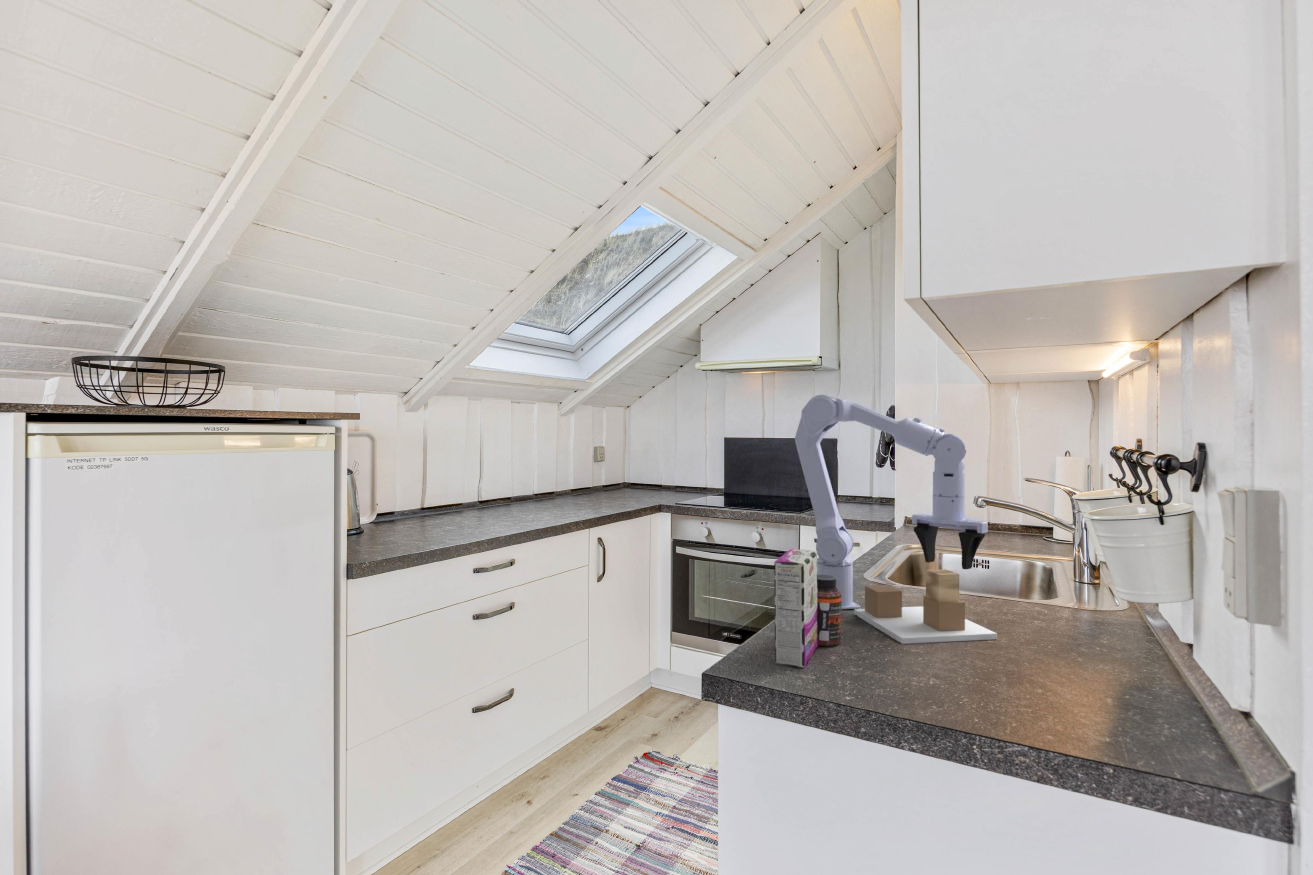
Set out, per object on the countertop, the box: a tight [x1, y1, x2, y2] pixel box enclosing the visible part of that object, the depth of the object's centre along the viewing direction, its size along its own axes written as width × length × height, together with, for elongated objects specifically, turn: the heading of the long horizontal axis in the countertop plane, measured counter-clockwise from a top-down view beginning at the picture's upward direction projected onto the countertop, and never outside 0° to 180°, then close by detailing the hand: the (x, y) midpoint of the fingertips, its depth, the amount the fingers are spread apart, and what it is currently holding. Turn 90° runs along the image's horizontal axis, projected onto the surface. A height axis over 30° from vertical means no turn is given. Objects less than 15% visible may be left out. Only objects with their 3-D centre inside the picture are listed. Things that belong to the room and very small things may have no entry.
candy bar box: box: [773, 548, 819, 669], centre depth 104 cm, size 11×5×16 cm, turn 155°
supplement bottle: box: [817, 575, 842, 647], centre depth 110 cm, size 6×6×11 cm
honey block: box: [925, 568, 960, 603], centre depth 116 cm, size 4×4×5 cm
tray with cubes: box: [853, 584, 998, 645], centre depth 120 cm, size 18×18×6 cm
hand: (947, 565), depth 125 cm, fingers open, 7 cm apart
